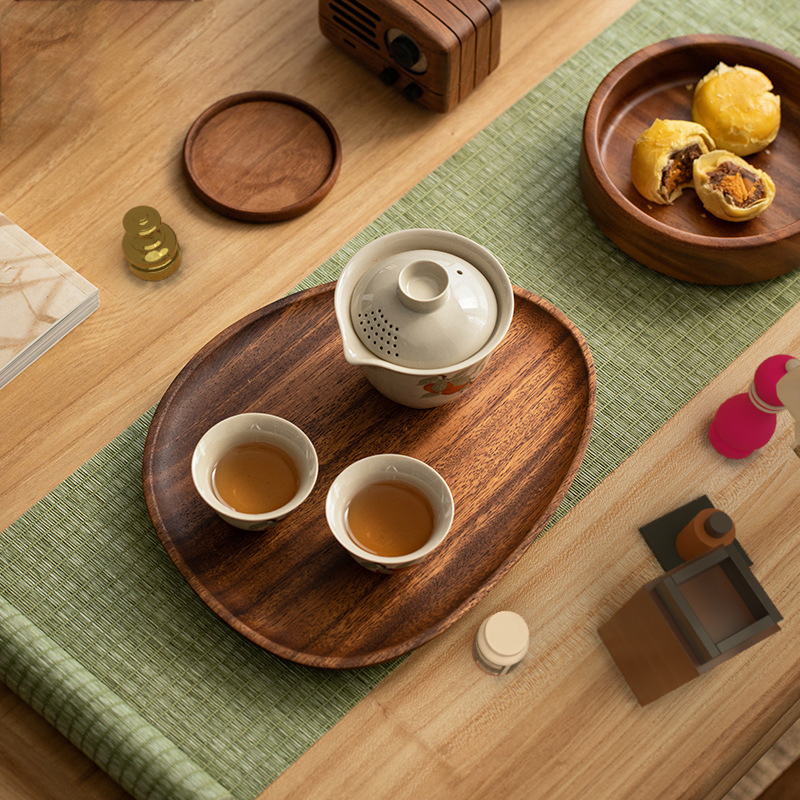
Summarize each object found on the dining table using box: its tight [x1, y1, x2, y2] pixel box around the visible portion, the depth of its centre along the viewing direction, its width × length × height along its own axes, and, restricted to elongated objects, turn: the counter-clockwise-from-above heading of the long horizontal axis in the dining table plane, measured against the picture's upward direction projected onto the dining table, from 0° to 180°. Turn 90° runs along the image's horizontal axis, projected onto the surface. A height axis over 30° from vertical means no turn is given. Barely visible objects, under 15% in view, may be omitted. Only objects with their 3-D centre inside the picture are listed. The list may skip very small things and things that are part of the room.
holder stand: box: [596, 543, 785, 708], centre depth 96 cm, size 10×10×23 cm
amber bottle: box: [676, 507, 737, 562], centre depth 108 cm, size 5×5×9 cm
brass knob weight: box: [121, 204, 182, 282], centre depth 124 cm, size 7×7×10 cm
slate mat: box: [638, 494, 754, 573], centre depth 112 cm, size 10×10×1 cm
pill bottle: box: [471, 610, 531, 677], centre depth 101 cm, size 6×6×10 cm
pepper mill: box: [708, 353, 800, 460], centre depth 110 cm, size 7×7×20 cm
